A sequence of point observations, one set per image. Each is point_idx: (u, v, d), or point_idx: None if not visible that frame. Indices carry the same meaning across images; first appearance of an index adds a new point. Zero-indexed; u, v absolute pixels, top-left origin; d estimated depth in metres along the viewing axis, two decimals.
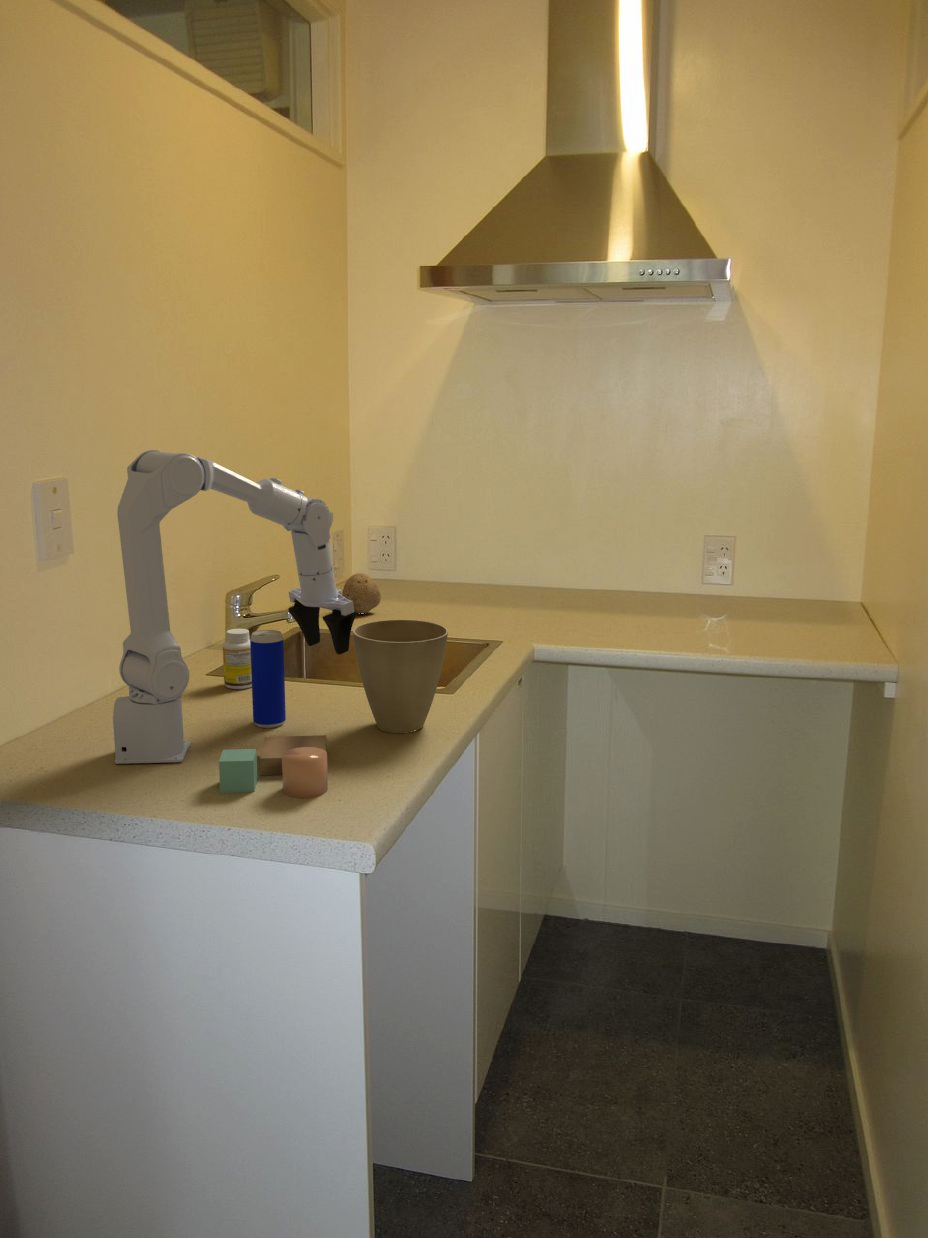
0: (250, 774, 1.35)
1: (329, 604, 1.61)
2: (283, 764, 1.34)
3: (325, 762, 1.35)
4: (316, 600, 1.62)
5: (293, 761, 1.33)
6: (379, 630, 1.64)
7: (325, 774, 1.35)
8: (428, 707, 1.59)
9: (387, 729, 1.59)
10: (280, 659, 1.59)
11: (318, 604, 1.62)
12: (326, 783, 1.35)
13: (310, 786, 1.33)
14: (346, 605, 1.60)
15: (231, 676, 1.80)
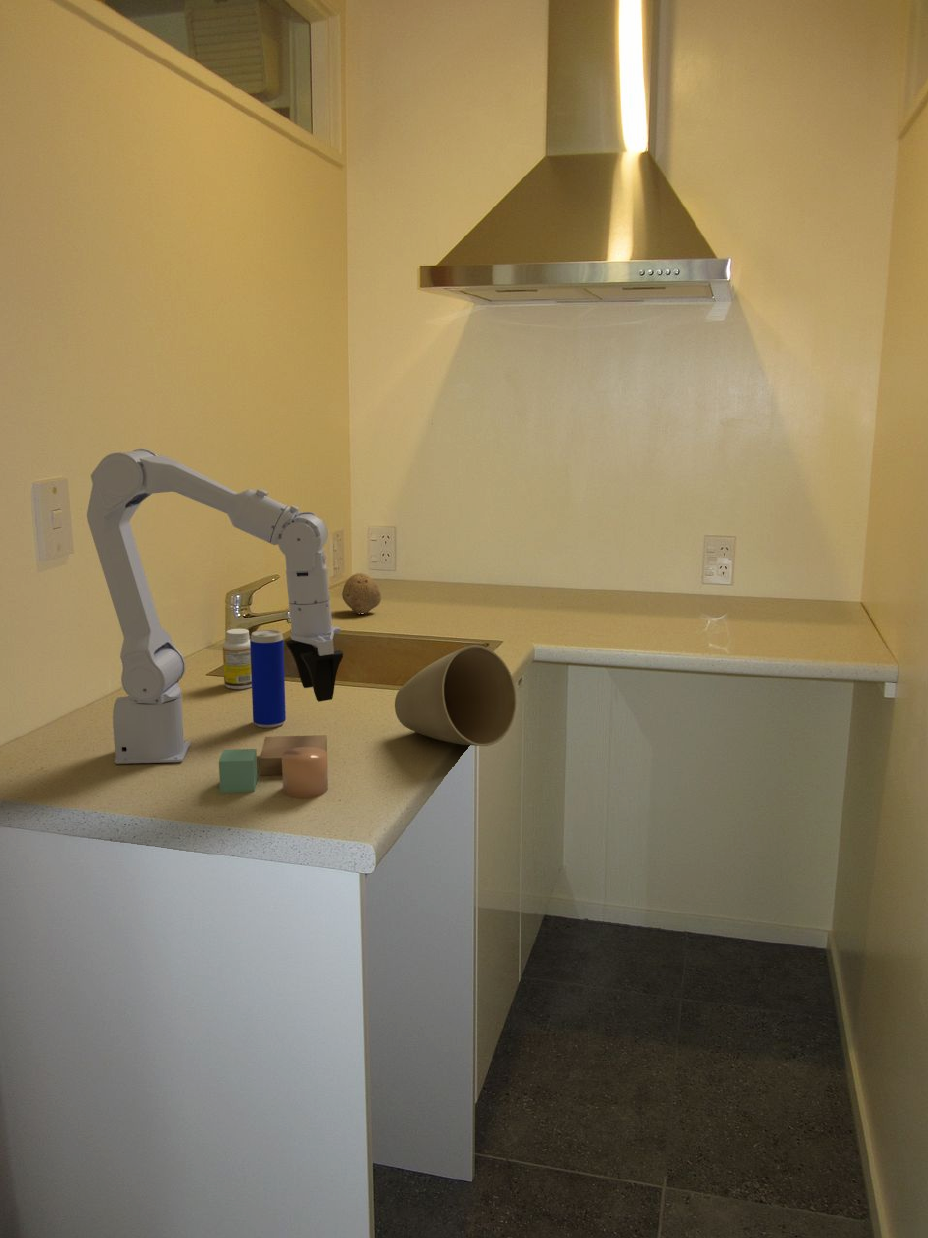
0: (250, 774, 1.35)
1: (309, 640, 1.38)
2: (283, 764, 1.34)
3: (325, 762, 1.35)
4: (300, 634, 1.40)
5: (293, 761, 1.33)
6: (472, 650, 1.51)
7: (325, 774, 1.35)
8: None
9: (398, 716, 1.57)
10: (280, 659, 1.59)
11: (300, 639, 1.40)
12: (326, 783, 1.35)
13: (310, 786, 1.33)
14: (322, 643, 1.36)
15: (231, 676, 1.80)
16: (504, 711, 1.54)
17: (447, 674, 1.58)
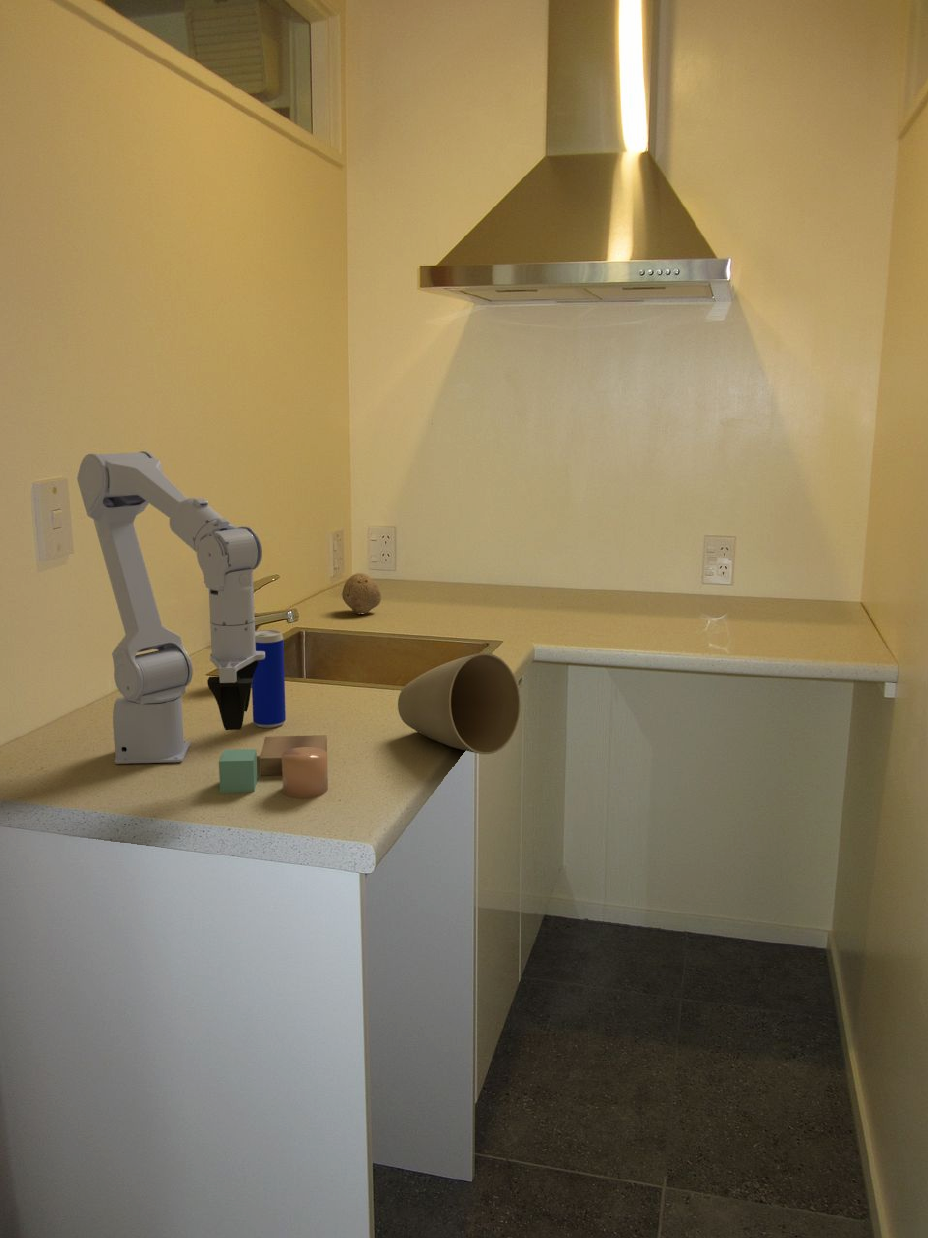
0: (250, 774, 1.35)
1: (216, 664, 1.29)
2: (283, 764, 1.34)
3: (325, 762, 1.35)
4: (215, 655, 1.31)
5: (293, 760, 1.33)
6: (482, 657, 1.51)
7: (325, 774, 1.35)
8: None
9: (400, 713, 1.57)
10: (280, 659, 1.59)
11: (213, 661, 1.30)
12: (326, 783, 1.35)
13: (310, 786, 1.33)
14: (223, 670, 1.26)
15: None
16: (507, 720, 1.54)
17: None
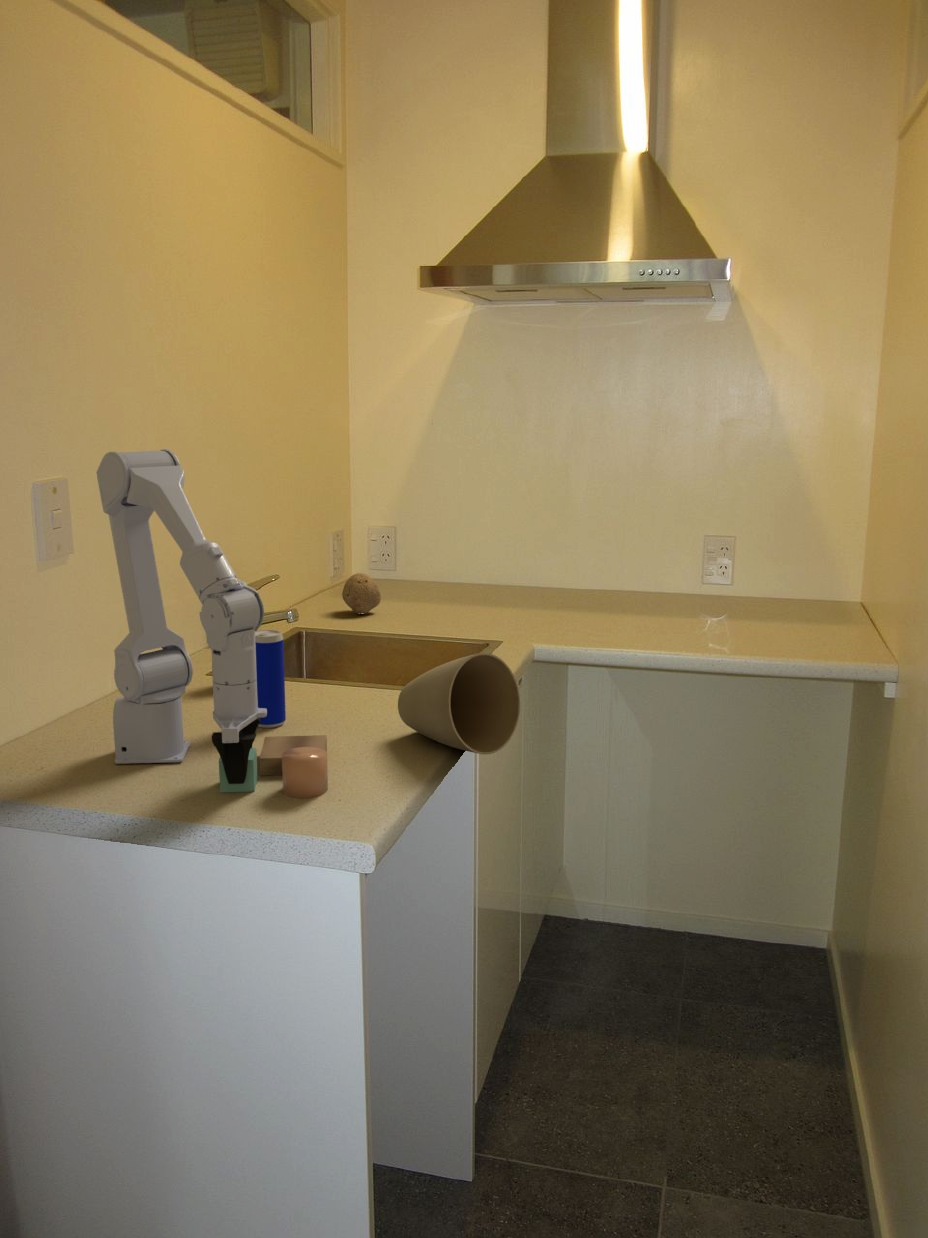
0: (250, 773, 1.35)
1: (219, 723, 1.30)
2: (283, 763, 1.34)
3: (325, 762, 1.35)
4: (217, 714, 1.33)
5: (293, 760, 1.33)
6: (481, 657, 1.51)
7: (325, 774, 1.35)
8: None
9: (400, 713, 1.57)
10: (280, 659, 1.59)
11: (216, 719, 1.32)
12: (326, 783, 1.35)
13: (311, 786, 1.33)
14: (226, 731, 1.28)
15: None
16: (507, 719, 1.54)
17: None
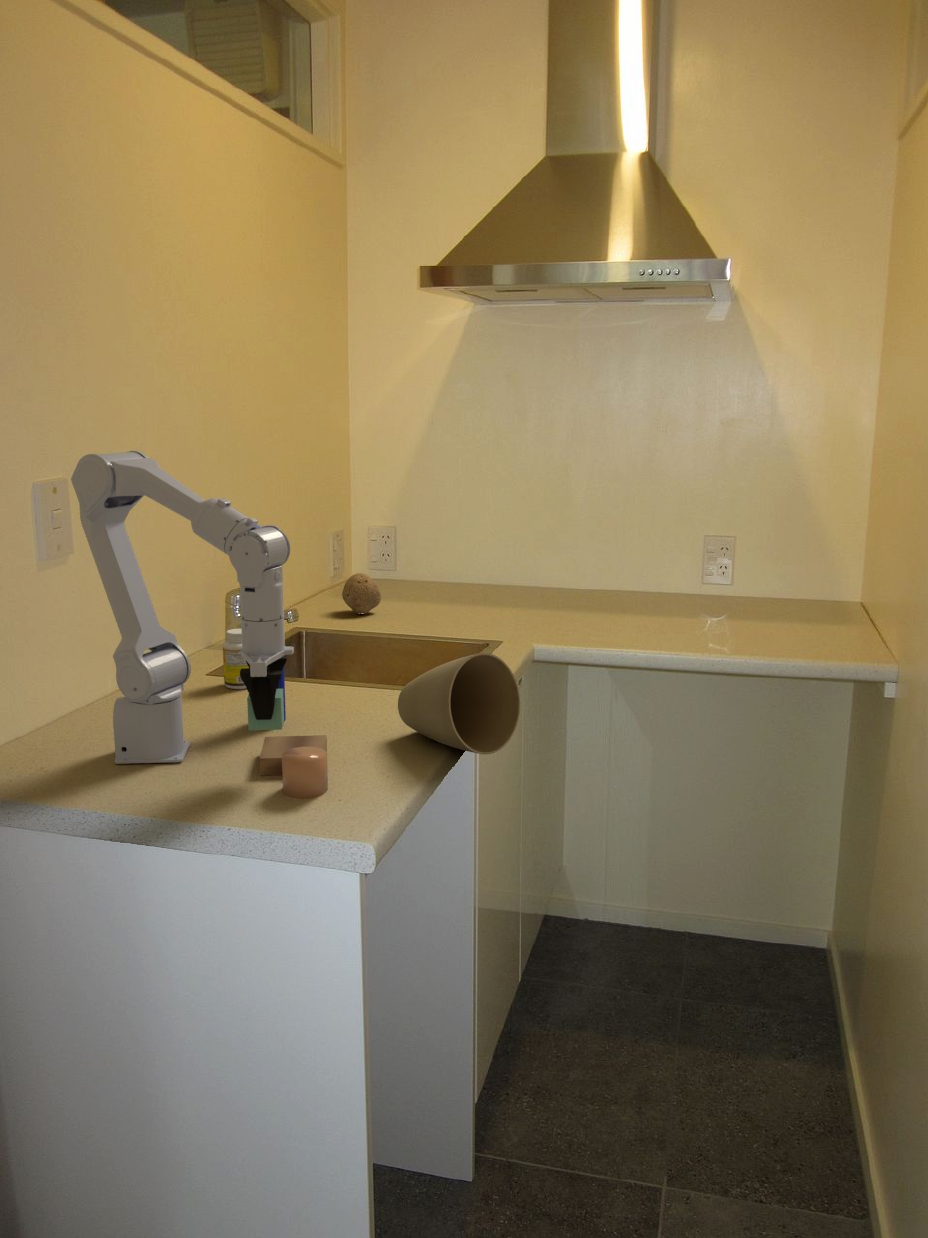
0: (278, 711, 1.37)
1: (247, 659, 1.33)
2: (283, 764, 1.34)
3: (326, 762, 1.35)
4: (246, 650, 1.35)
5: (293, 761, 1.33)
6: (481, 657, 1.51)
7: (325, 774, 1.35)
8: None
9: (400, 713, 1.57)
10: None
11: (244, 655, 1.35)
12: (326, 783, 1.35)
13: (311, 786, 1.33)
14: (254, 665, 1.30)
15: (231, 676, 1.80)
16: (507, 719, 1.54)
17: None
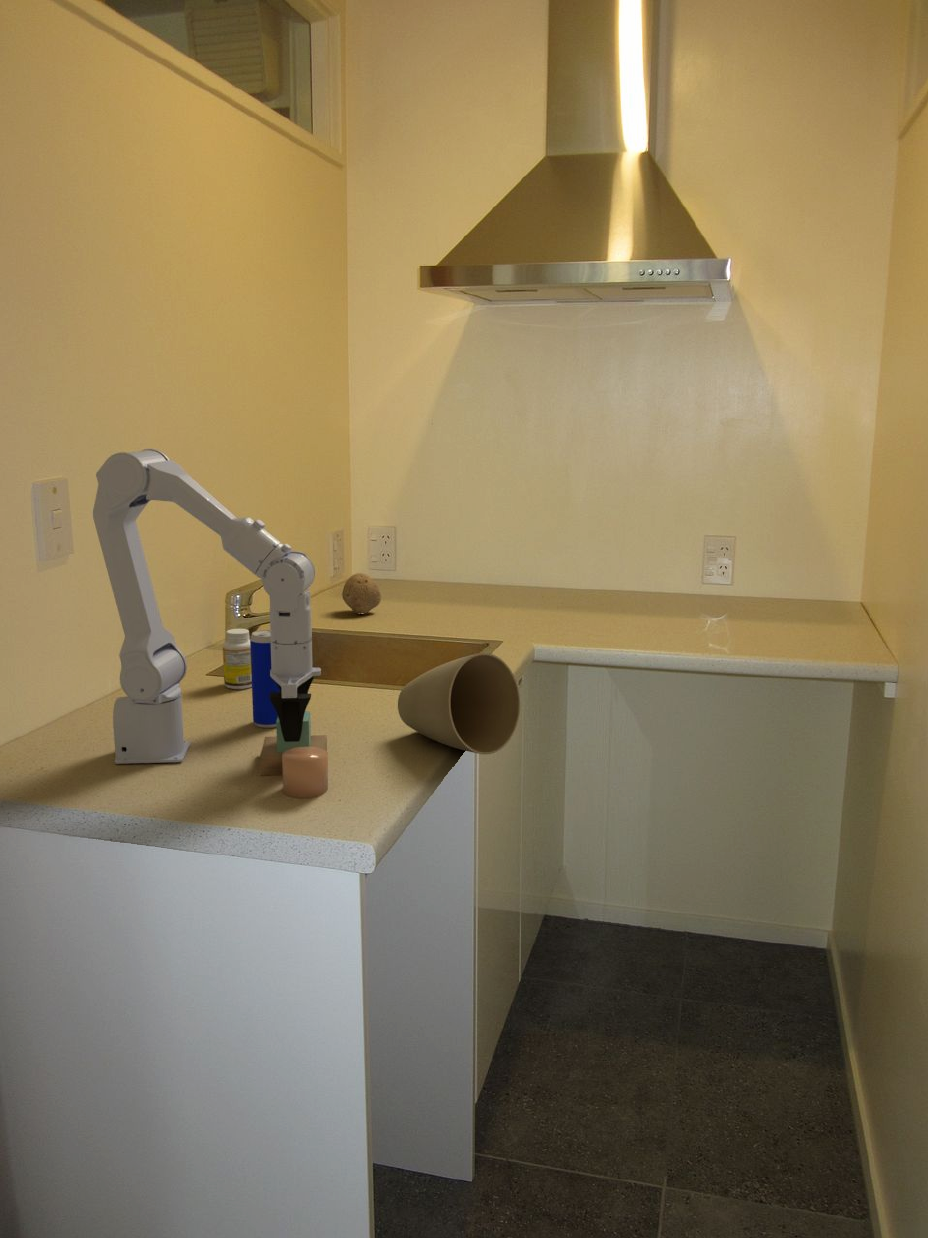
0: (306, 734, 1.43)
1: (278, 680, 1.38)
2: (284, 763, 1.34)
3: (326, 762, 1.35)
4: (275, 672, 1.40)
5: (294, 760, 1.33)
6: (481, 657, 1.51)
7: (326, 773, 1.35)
8: None
9: (400, 713, 1.57)
10: None
11: (274, 677, 1.40)
12: (326, 782, 1.36)
13: (312, 786, 1.33)
14: (285, 686, 1.36)
15: (231, 676, 1.80)
16: (507, 719, 1.54)
17: None
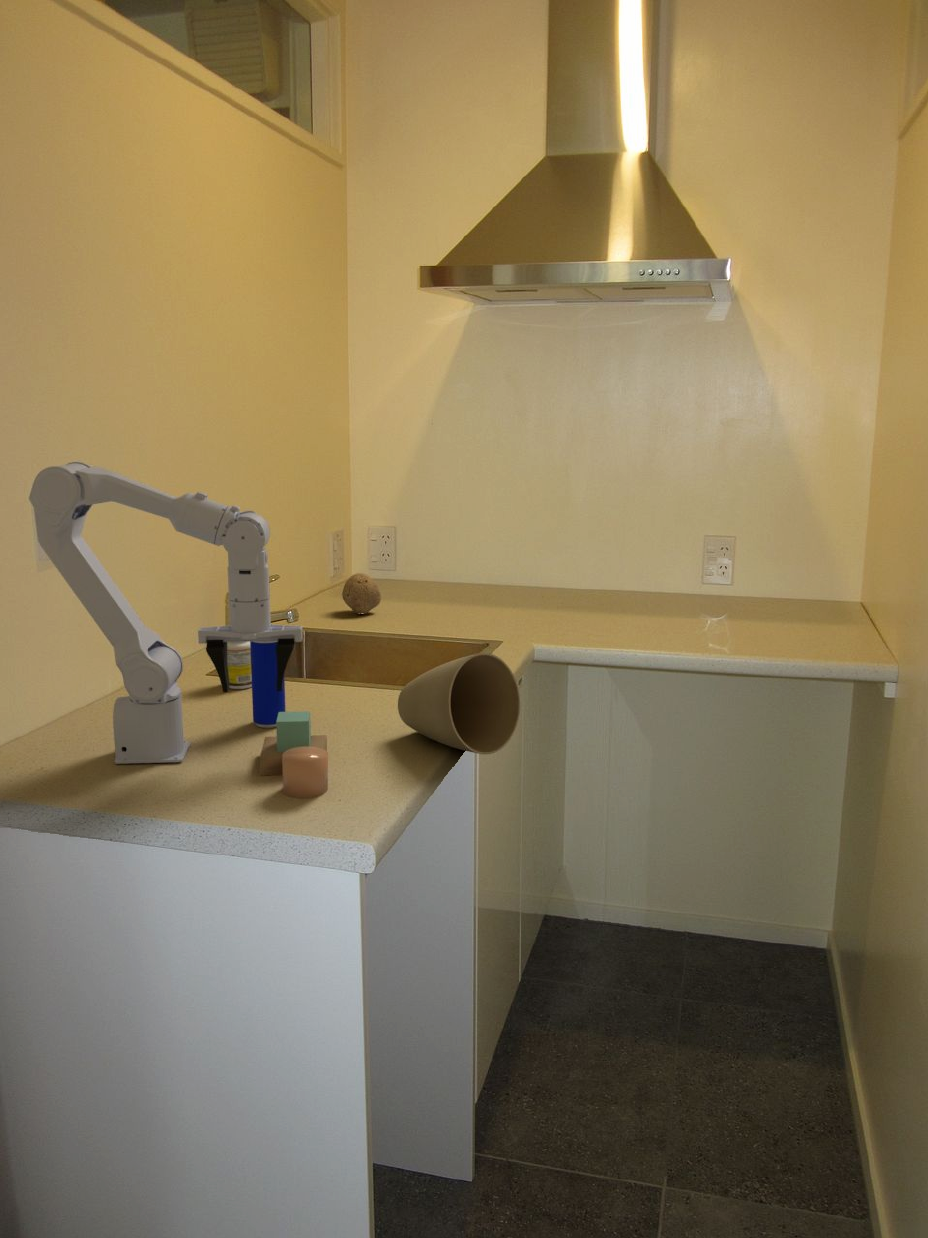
0: (306, 734, 1.43)
1: (220, 627, 1.46)
2: (284, 764, 1.34)
3: (327, 762, 1.35)
4: None
5: (295, 761, 1.33)
6: (481, 657, 1.51)
7: (326, 773, 1.35)
8: None
9: (400, 713, 1.57)
10: None
11: None
12: (327, 782, 1.36)
13: (312, 786, 1.33)
14: None
15: (231, 676, 1.80)
16: (507, 719, 1.54)
17: None
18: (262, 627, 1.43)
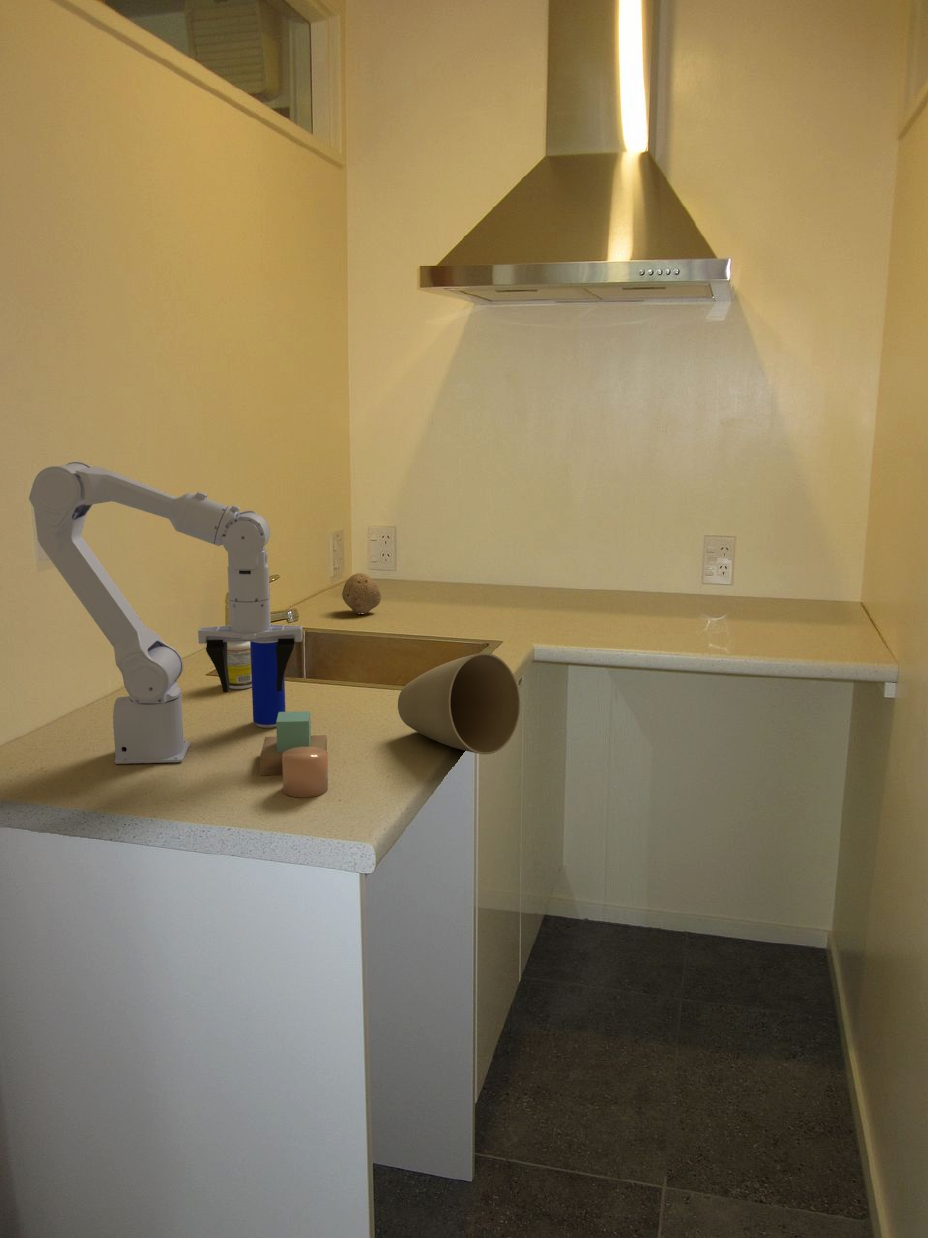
0: (306, 734, 1.43)
1: (220, 627, 1.46)
2: (284, 763, 1.34)
3: (327, 761, 1.35)
4: None
5: (295, 760, 1.33)
6: (481, 657, 1.51)
7: (326, 772, 1.35)
8: None
9: (400, 713, 1.57)
10: None
11: None
12: (327, 781, 1.36)
13: (313, 785, 1.33)
14: None
15: (231, 676, 1.80)
16: (507, 719, 1.54)
17: None
18: (262, 627, 1.43)
